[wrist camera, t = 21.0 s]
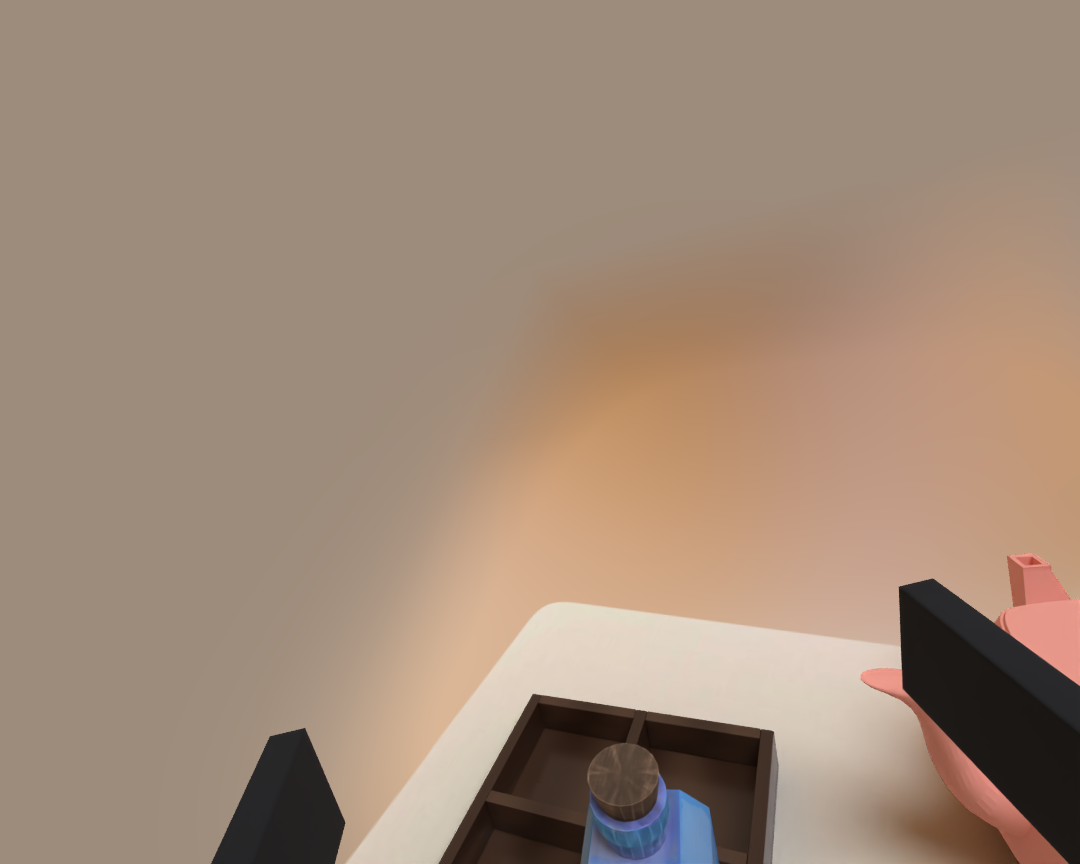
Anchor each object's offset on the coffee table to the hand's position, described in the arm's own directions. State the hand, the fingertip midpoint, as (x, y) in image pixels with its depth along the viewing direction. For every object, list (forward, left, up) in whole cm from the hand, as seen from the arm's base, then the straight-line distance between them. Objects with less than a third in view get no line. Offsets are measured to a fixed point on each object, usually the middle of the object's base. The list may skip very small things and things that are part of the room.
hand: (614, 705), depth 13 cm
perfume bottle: (-5, +8, -25) cm, 27 cm away
